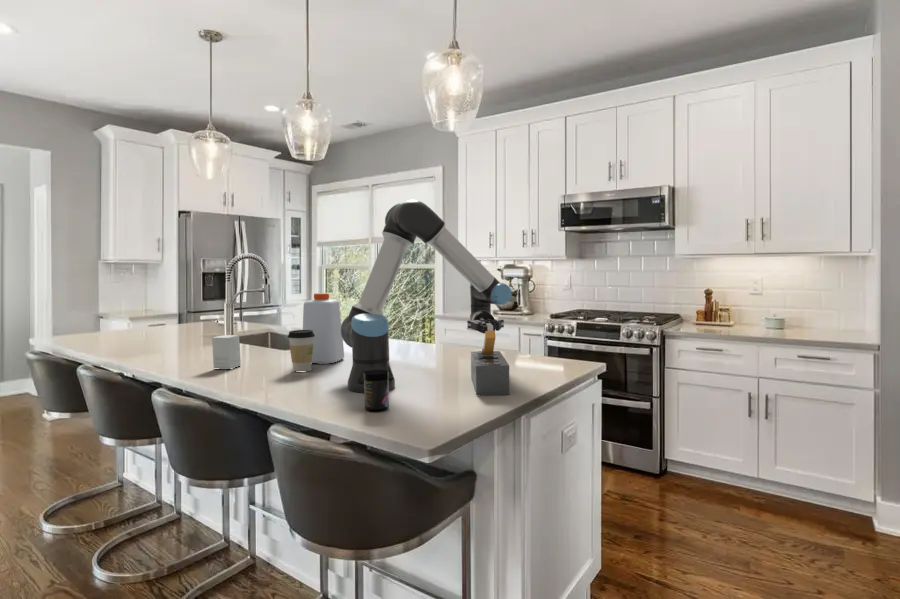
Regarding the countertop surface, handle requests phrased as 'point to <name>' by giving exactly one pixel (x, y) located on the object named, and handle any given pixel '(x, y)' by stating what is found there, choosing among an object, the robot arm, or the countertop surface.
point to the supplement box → (226, 351)
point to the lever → (489, 343)
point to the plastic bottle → (324, 328)
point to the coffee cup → (301, 349)
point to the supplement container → (376, 390)
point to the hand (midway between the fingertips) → (490, 330)
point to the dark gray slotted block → (489, 373)
